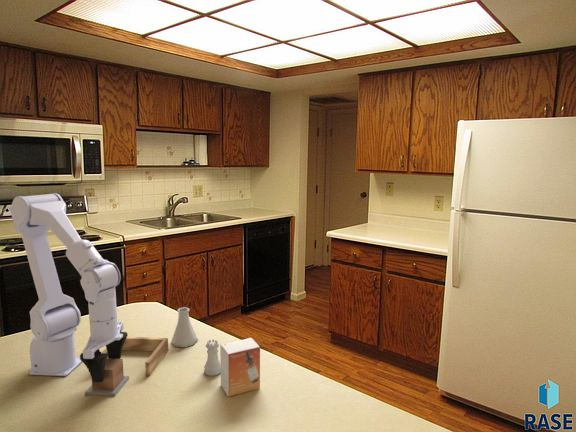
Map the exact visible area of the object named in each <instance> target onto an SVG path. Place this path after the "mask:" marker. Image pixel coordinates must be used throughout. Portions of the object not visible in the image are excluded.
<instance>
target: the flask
mask: <svg viewBox="0 0 576 432" xmlns="http://www.w3.org/2000/svg"><path fill="white" fill-rule="evenodd" d="M189 312H190V308H188V307H186V306H184V307H179V308H178V309H177V313H178V319H177V323H176V326H175V330H174V333H173V335H172V338H171V340H170V343H171V345H173V346H174V347H178V348H187V347H190V346H193V345H195V344H196V343H197V342H198V341H199V339H198V337H197V334H196V332H195V330H194V327H193V326H192V323H191V319H190V315H189V314H190V313H189Z"/></svg>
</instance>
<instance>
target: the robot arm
mask: <svg viewBox="0 0 576 432" xmlns="http://www.w3.org/2000/svg"><path fill="white" fill-rule="evenodd" d="M9 210H10V215H11V218H12V222H13V226H14V228H15V232H16V233H18V234H20V235H21V239H22V242H23V246H24V249H25V250H24V251H25V255H26V256H27V260H28V261H27V262H28V263H29V264H28V265H29V269H30V272H31V275H32V279H33V283H34V286H35V289H36V293H37V296H38V301H37V302H36V303H35V305H34V306H32V308H31V309H30V311H29V316H30V317H29V318H30V325H29V326H30V331H31V333H32V335H33V338H32V339H31V341H30V345H29V358H30V367H31V371H29V375H30V376H31V375H32V376H53V377H54V376H55V377H57V376H58V377H61V376H62V377H66V376H68V375H69V374H70V373H72V371H74V370H75V369H76V367H78V365H80V364H82V363H83V364H84V365H85V366H86V369H88V372H89V374H90V377H91V381H92V380H93V382H102V381H103V380H104V372H105V363H106V359H107V357H108V358H112V359H122V358H121V357H122V351H123V350H122V348H123V345H124V342H125V340H126V338H127V337H129V336H128V331H127V332H126V331H123V330H124V329H125V328H124V321H118V316H117V315H118V313H117V312H118V310H117V309H118V308H117V295H116V294H117V293H116V291H117V290H116V287H118V286H119V285H120V284H121V283H120V282H121V280H122V279H121V278H122V276H121V272H120V269H119V268H118V265H117V264H116V263H114V262H111V261H109V260H108V259H104V258H103V257H102V255H101V254H100V253H99V252H98V250H97V248H95V246H94V245H93V244H92V243H91V241H90V240H89V239H88V240H87V239H82V238H81V236H80V235H79V233H78V231H77V230H76V228H75V226H74V225H73V223H72V222H71V220H70V219H69V217H68V216H67V204H66V202H65V201H64V199H63V198H62V196H61V195H60V194H58V193H56V192H52V193H48V194H45V193H44V194H37V195H26V196H21V195H19V196H18V195H17V196H16V197H14V198H13V200H12V203H11V205H10V208H9ZM49 230H50V231H51V232H52V233H53V234H54V236H56V237H57V239H58V240H59V241H60V242H61V243H62V244H63V245H64V246H65V247H66V251H65V256H66V257H67V259H68V260H69V262H70V263H71V264H72V265H73V267H74V268H75V269H76V271H77V272H78V273H79V275H80V278H81V279H79V281H80V285H81V287H82V290H83V292H84V297H85V300H86V301H87V302H88V316H89V317H88V318H89V333H90V336H89V338H88V340H87V343H86V346H85V347H84V348H83V349H82V352H81V353H80V354H79V357H77V354H76V340H75V332H76V331H77V327H78V326H80V323H81V320H82V316H81V311H80V309H79V308H78V306H77V304H76V302H75V299H74V298H73V297H71V296H69V295H67V294H64V293H63V291H62V286H61V284H60V279H59V275H58V271H57V268H56V265H55V261H54V258H53V254H52V250H51V246H50V242H49V239H48V235H47V233H48V231H49ZM103 347H105V349H106V348H107V353H102V351H101V350H100V349H102V348H103Z"/></svg>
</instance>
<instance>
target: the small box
mask: <svg viewBox="0 0 576 432" xmlns="http://www.w3.org/2000/svg"><path fill="white" fill-rule="evenodd" d="M219 347H220V351H219V352H220V355H219V356H220V363H221V372H220V386H221V387H222V389H223V390H224V392H225V394H226V396H227V397H228V398H229V397H233V396H236V395H240V394H243V393H247V392H250V391H254V390H258V389H260V388H261V347H260V346H259V344H258V343H257V342H256V341H255V340H254V339H253V338H252V337H248V338H245V339H239V340H236V341H231V342H226V343H220V344H219Z"/></svg>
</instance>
